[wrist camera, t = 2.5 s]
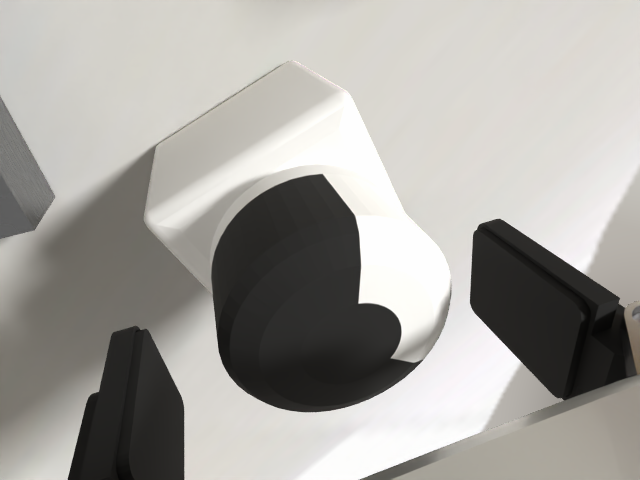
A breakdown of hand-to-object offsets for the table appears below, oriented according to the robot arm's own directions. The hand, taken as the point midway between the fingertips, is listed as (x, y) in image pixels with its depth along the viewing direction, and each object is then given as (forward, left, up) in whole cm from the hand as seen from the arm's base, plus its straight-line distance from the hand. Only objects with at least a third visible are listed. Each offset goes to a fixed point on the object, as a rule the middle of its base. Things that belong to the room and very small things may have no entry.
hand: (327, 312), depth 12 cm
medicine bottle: (-1, 0, -10) cm, 10 cm away
